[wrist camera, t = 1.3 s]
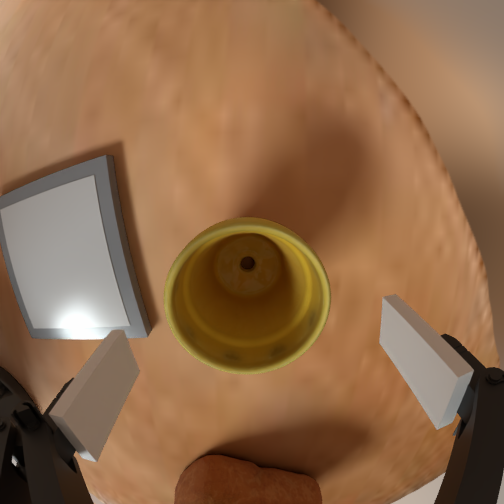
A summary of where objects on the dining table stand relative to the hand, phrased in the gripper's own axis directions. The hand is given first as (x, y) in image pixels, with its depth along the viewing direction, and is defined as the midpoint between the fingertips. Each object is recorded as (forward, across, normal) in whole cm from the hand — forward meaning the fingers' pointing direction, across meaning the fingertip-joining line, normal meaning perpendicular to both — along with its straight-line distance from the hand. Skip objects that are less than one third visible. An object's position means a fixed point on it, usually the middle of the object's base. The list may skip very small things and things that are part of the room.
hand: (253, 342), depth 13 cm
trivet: (+13, -20, +3) cm, 25 cm away
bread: (+14, -6, -39) cm, 42 cm away
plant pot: (+14, 0, 0) cm, 14 cm away
